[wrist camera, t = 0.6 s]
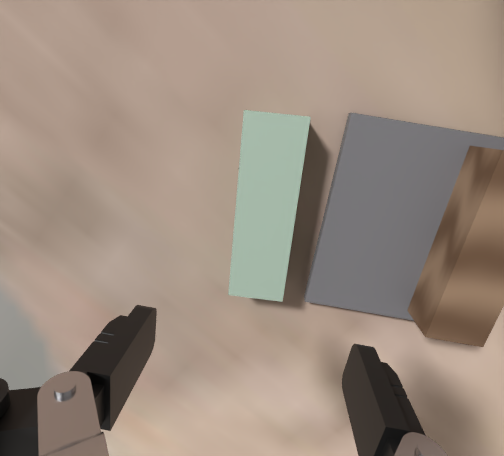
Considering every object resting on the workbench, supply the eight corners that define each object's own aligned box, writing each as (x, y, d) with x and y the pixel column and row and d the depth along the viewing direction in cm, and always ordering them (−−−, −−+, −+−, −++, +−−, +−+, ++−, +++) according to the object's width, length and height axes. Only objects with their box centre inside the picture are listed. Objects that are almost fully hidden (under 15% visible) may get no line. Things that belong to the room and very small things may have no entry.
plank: (248, 111, 27) (243, 109, 23) (305, 117, 27) (310, 116, 23) (233, 274, 33) (228, 294, 29) (281, 280, 32) (282, 301, 29)
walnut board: (469, 145, 26) (503, 150, 22) (530, 155, 26) (575, 161, 22) (407, 310, 31) (425, 337, 27) (457, 319, 31) (483, 347, 27)
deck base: (348, 112, 26) (351, 112, 25) (527, 142, 26) (536, 143, 25) (304, 296, 32) (305, 301, 31) (448, 321, 32) (453, 327, 31)
